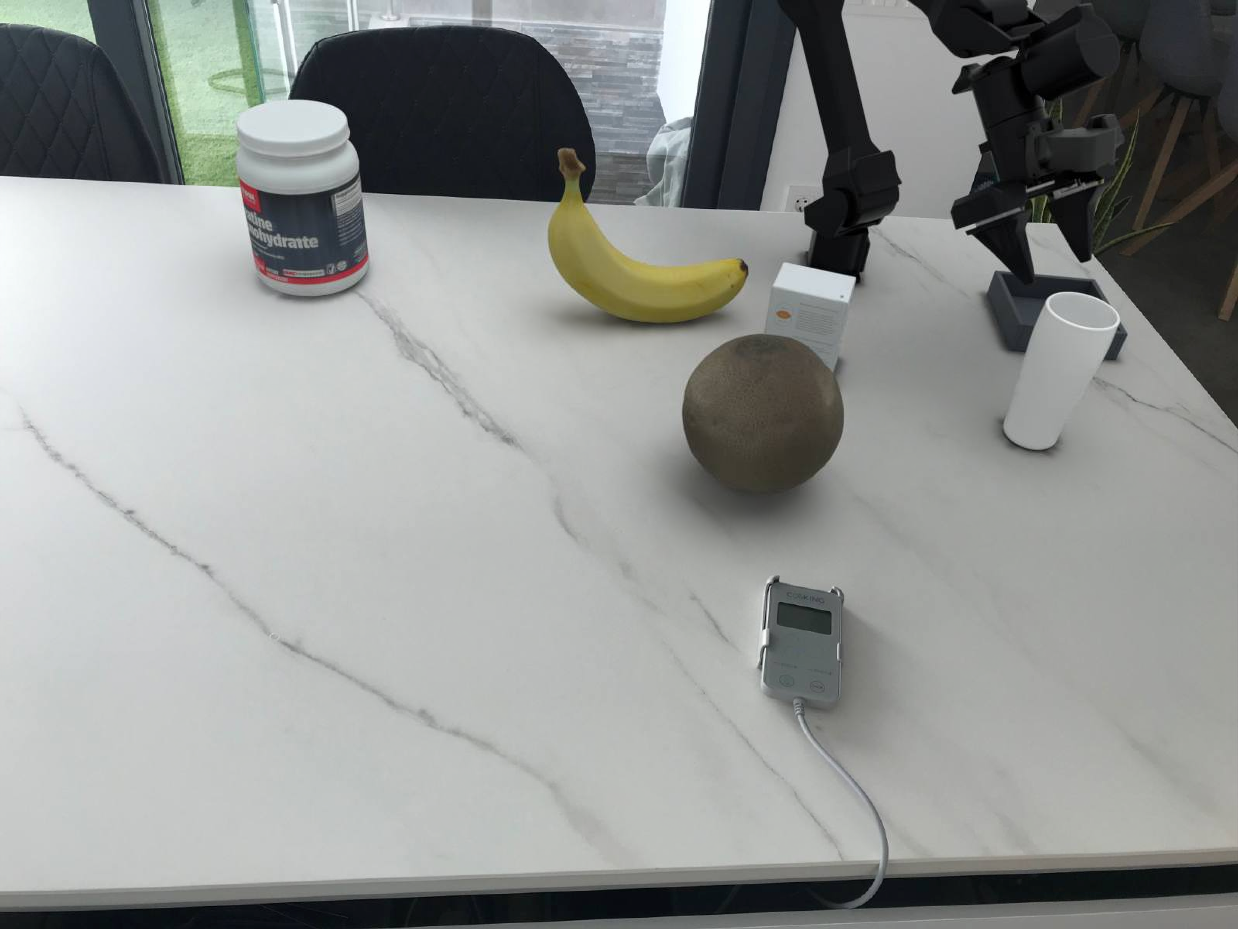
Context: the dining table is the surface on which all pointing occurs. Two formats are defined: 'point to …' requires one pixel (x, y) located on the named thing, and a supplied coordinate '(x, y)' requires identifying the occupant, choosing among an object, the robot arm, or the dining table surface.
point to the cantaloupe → (762, 413)
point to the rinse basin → (1037, 305)
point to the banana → (631, 267)
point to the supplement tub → (302, 197)
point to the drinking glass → (1058, 366)
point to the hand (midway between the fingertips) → (1058, 272)
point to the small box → (810, 308)
